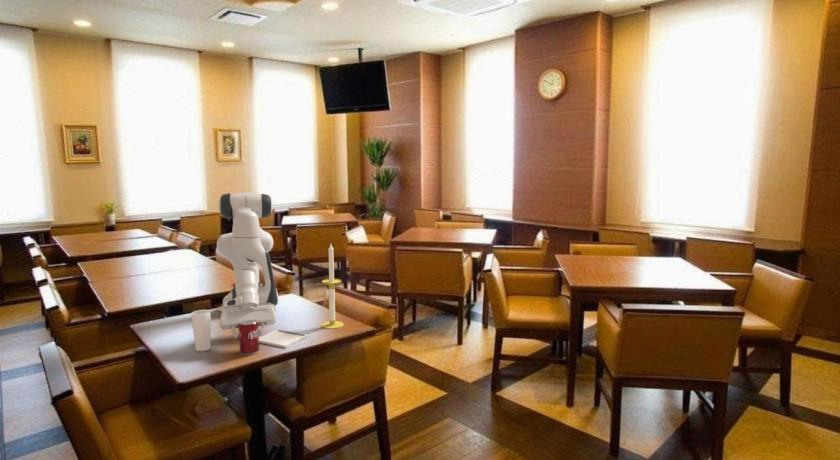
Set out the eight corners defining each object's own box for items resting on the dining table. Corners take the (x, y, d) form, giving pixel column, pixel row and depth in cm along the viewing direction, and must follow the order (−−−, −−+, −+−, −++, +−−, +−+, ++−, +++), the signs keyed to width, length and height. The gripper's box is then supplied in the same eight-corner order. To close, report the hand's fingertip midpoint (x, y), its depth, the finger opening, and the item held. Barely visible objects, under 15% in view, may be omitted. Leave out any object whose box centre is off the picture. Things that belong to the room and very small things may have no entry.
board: (254, 341, 197) (254, 339, 197) (278, 331, 210) (278, 328, 209) (285, 348, 190) (285, 345, 190) (308, 337, 203) (308, 334, 203)
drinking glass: (205, 353, 185) (203, 315, 183) (189, 352, 186) (187, 314, 184) (216, 347, 191) (214, 310, 189) (200, 345, 193) (198, 309, 191)
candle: (337, 320, 225) (335, 240, 220) (347, 326, 217) (346, 243, 212) (317, 324, 219) (315, 242, 214) (327, 330, 211) (325, 245, 206)
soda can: (235, 354, 183) (234, 324, 182) (245, 347, 191) (244, 318, 189) (253, 356, 182) (252, 325, 181) (262, 348, 190) (261, 319, 188)
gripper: (274, 306, 199) (277, 337, 191) (220, 310, 192) (220, 343, 184) (275, 298, 194) (277, 329, 186) (219, 302, 187) (219, 335, 179)
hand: (248, 336), depth 185 cm, fingers closed on soda can, 7 cm apart
